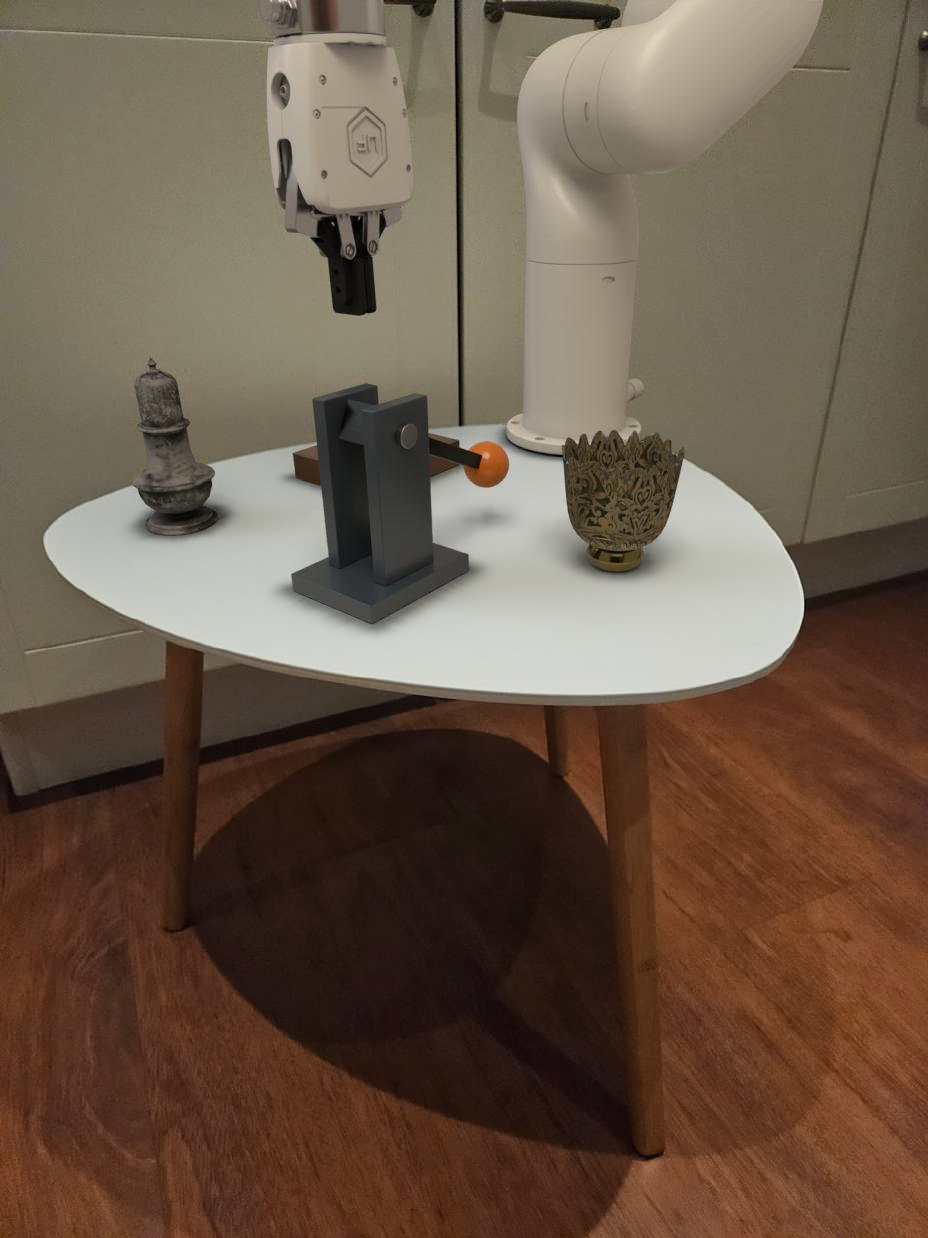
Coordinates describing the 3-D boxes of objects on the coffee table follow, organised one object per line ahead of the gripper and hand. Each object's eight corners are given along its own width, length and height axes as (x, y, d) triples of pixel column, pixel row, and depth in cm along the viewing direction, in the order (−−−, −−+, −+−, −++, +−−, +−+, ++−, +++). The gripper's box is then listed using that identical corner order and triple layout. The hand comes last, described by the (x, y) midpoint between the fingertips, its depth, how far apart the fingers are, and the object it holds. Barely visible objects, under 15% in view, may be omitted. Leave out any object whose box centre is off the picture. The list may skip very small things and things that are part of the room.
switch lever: (475, 485, 62) (487, 442, 62) (510, 495, 60) (523, 450, 60) (329, 444, 50) (342, 390, 49) (368, 454, 48) (382, 398, 48)
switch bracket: (391, 544, 60) (380, 373, 54) (469, 570, 56) (466, 389, 50) (292, 590, 54) (268, 403, 48) (372, 624, 50) (356, 425, 44)
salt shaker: (200, 539, 61) (168, 368, 55) (125, 534, 62) (87, 366, 56) (235, 508, 66) (210, 349, 60) (165, 504, 67) (134, 347, 61)
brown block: (385, 445, 79) (383, 402, 77) (460, 464, 74) (459, 419, 72) (295, 477, 72) (289, 431, 70) (371, 501, 67) (367, 451, 65)
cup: (689, 583, 54) (704, 460, 50) (575, 593, 53) (582, 469, 49) (647, 536, 60) (658, 424, 56) (546, 545, 59) (549, 431, 55)
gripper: (277, 8, 49) (314, 335, 58) (444, 23, 59) (454, 301, 68) (199, 21, 54) (246, 324, 63) (368, 34, 64) (387, 294, 73)
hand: (354, 311), depth 66 cm, fingers closed
